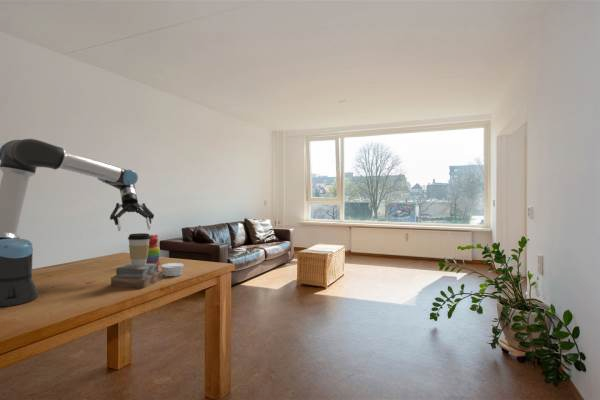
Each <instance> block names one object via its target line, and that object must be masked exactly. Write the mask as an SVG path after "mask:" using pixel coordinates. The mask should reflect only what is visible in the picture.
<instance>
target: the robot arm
mask: <svg viewBox="0 0 600 400" xmlns="http://www.w3.org/2000/svg"><path fill="white" fill-rule="evenodd" d="M37 168H46V169H52V170H59V169H61V170H66V171H70V172H74V173H78V174H81V175H85V176H90V177H93V178H96V179H97V180H98V181H100V182H102V183H104V184H106V185H108V186H111V187H114V188H116V189H118V190H119V193H120V199H121V204H120V203H119V202H116V203H115V208H114V209H113V210H112V212H111V214H110V216H109V220H111V221H112V220H113V222H114V225H115V226H117V231H118V232H120V231H121V229H122V228H121V227H122V225H121V220H120V218H121V216H123V215H124V214H126V212H127V213H137V214H139V215H140V216H142V217H143V218H145V219H146V220H145V223H146V226H147V230H148V231H150V229H151V224H152V220H153V219H154V217H155V215H154V213H153V212H152V211H151V210H150V209H149V208H148V207H147V206H146V203H145V202H143V203H141V204H140V203H139V200H138V195H137V190H136V185H135V184H136V183H137V182H138V180H139V175H138V173H137V172H136V171H134V170H133V169H126V168H120V167H118V166H114V165H111V164H107V163H106V162H105V163H104V162H101V161H98V160H95V159H91V158H88V157H86V156H85V157H84V156H82V155H78V154H76V153H75V154H74V153H72V152H68V151H65V149H64V148H63V147H60V146H57V145H55V144H52V143H48V142H45V141H42V140H39V139H36V138H22V139H14V140H10V141H7V142H5V143H3V144H2V145H1V147H0V170H1V172H2V176H1V180H0V307H3V308H4V307H10V306H17V305H22V304H25V303H26V304H27V303H29V302H31V301H32V302H33V301H35V300H36V299H37V298H38V290H37V289H36V286H35V283H34V280H33V254H34V253H33V252H34V249H33V242H32V241H30V240H28V239H24V238H21V236H20V235H18V232H17V231H18V227H19V223H20V219H21V214H22V210H23V206H24V201H25V198H26V193H27V190H28V189H27V188H28V185H29V180H30V179H31V177H33V176H35V174H36V171H37ZM120 208H122V209H121V210H120ZM119 210H120V211H119ZM118 211H119V212H118Z"/></svg>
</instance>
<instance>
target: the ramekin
mask: <svg viewBox="0 0 600 400" xmlns="http://www.w3.org/2000/svg"><path fill="white" fill-rule="evenodd" d="M184 266H185V265H184V263H181V262H168V263H163V264H161V266H160V267H161V271H163V275H162V276H164V277H167V276H174V277H179V276H181V275H182V274H183V272H184ZM178 275H179V276H178Z"/></svg>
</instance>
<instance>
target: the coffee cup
mask: <svg viewBox="0 0 600 400" xmlns="http://www.w3.org/2000/svg"><path fill="white" fill-rule="evenodd" d="M149 235H150V233H145V232H144V233H143V232H140V233H138V232H137V233H130V234H129V235H128V237H127V240H128V248H129V249H128V250H129V258H130V262H131V265H132V267H143V266H146V261H147V256H148V249H149V240H150V236H149Z"/></svg>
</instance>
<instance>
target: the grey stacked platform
mask: <svg viewBox="0 0 600 400" xmlns="http://www.w3.org/2000/svg"><path fill="white" fill-rule="evenodd" d="M115 269H116V270H115V271H116V273H115V274H116V275H114V276H111V277H110V287H121V288H134V287H136V288H137V289H144V288H147V287H149V286H151V285H153V284H156V283H157V281H158V282H159V280H160V281H161V279H162V280H163V276H164V275H163V271H162V270H159V265H158V264H153V263H146V266H143V267H132V265H131V263H128V264H125V265H122V266H119V267H115ZM155 282H156V283H155ZM136 288H135V289H136Z"/></svg>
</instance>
